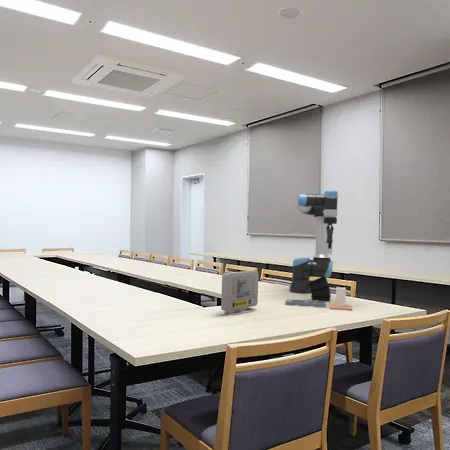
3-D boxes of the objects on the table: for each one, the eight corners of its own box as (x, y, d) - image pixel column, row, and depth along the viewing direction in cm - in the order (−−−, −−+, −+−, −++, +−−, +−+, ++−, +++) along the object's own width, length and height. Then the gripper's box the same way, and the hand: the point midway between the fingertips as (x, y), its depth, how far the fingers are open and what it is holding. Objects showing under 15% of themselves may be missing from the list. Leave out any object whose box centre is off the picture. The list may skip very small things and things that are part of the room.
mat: (329, 304, 246) (329, 303, 246) (351, 306, 243) (351, 304, 243) (329, 308, 232) (329, 307, 232) (352, 310, 230) (352, 309, 230)
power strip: (286, 302, 249) (286, 298, 249) (325, 305, 243) (325, 301, 243) (285, 304, 241) (285, 300, 241) (325, 307, 236) (325, 303, 236)
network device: (248, 307, 230) (249, 270, 230) (261, 309, 224) (262, 271, 225) (217, 313, 210) (218, 273, 210) (231, 316, 205) (232, 274, 205)
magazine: (334, 299, 254) (324, 276, 257) (314, 307, 259) (304, 283, 262) (335, 298, 258) (325, 275, 260) (315, 306, 263) (306, 283, 265)
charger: (335, 305, 240) (336, 287, 240) (345, 305, 239) (345, 287, 239) (335, 306, 236) (336, 288, 237) (345, 306, 235) (345, 288, 235)
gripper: (323, 216, 261) (322, 251, 262) (323, 216, 237) (322, 255, 238) (336, 217, 260) (335, 251, 260) (337, 217, 235) (336, 255, 236)
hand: (329, 253), depth 249 cm, fingers open, 13 cm apart
